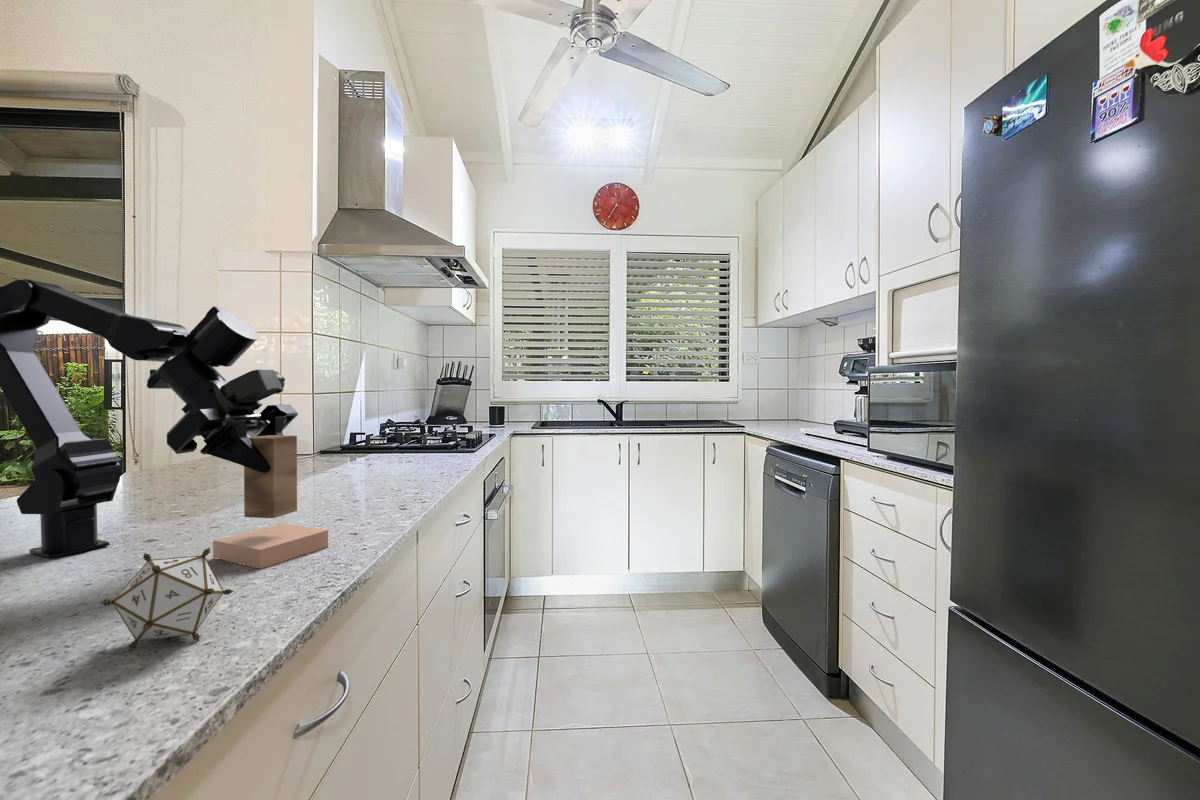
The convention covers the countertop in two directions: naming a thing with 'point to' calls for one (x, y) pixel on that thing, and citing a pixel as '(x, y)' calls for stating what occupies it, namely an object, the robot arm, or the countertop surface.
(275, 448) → the walnut block
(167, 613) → the game die
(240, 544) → the terracotta tile
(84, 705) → the countertop surface
